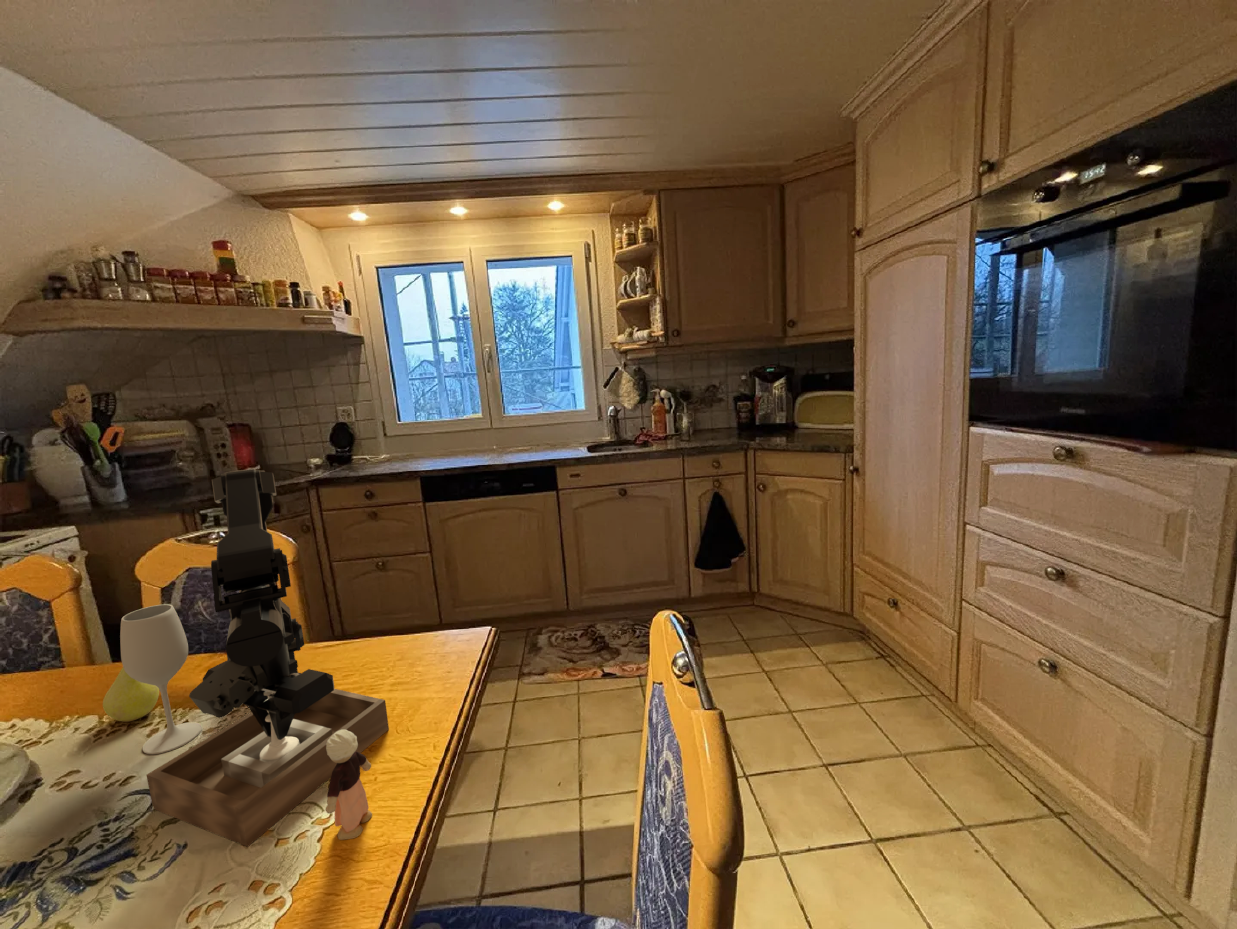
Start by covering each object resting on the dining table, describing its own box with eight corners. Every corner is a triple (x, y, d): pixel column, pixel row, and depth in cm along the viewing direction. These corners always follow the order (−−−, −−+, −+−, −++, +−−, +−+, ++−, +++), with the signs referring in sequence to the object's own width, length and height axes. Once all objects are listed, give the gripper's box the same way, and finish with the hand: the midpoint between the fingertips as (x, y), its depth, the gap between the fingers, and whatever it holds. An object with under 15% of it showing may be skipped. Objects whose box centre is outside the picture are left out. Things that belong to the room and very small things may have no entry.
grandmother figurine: (350, 804, 67) (336, 715, 65) (380, 801, 68) (368, 712, 66) (321, 858, 60) (305, 758, 58) (356, 854, 60) (341, 755, 58)
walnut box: (153, 809, 68) (146, 774, 67) (306, 708, 88) (301, 681, 88) (247, 846, 62) (240, 809, 61) (388, 729, 82) (385, 700, 81)
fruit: (99, 725, 87) (83, 658, 85) (152, 699, 94) (139, 636, 92) (123, 733, 84) (108, 664, 82) (176, 705, 91) (163, 641, 89)
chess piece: (280, 766, 72) (268, 699, 70) (250, 762, 73) (238, 697, 71) (308, 742, 77) (297, 679, 75) (280, 739, 78) (269, 677, 76)
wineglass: (151, 761, 77) (123, 628, 74) (133, 744, 81) (105, 617, 78) (212, 731, 84) (188, 607, 80) (192, 717, 88) (169, 598, 84)
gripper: (149, 653, 68) (171, 761, 70) (247, 676, 61) (267, 794, 64) (237, 616, 78) (254, 711, 81) (329, 632, 71) (344, 735, 74)
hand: (277, 736), depth 74 cm, fingers closed on chess piece
